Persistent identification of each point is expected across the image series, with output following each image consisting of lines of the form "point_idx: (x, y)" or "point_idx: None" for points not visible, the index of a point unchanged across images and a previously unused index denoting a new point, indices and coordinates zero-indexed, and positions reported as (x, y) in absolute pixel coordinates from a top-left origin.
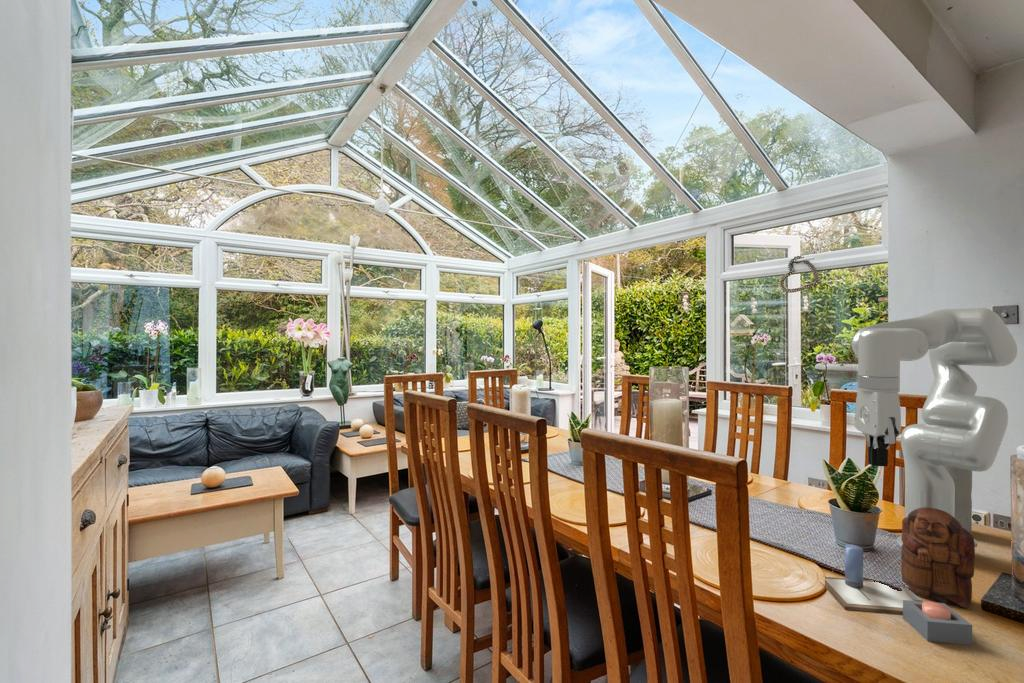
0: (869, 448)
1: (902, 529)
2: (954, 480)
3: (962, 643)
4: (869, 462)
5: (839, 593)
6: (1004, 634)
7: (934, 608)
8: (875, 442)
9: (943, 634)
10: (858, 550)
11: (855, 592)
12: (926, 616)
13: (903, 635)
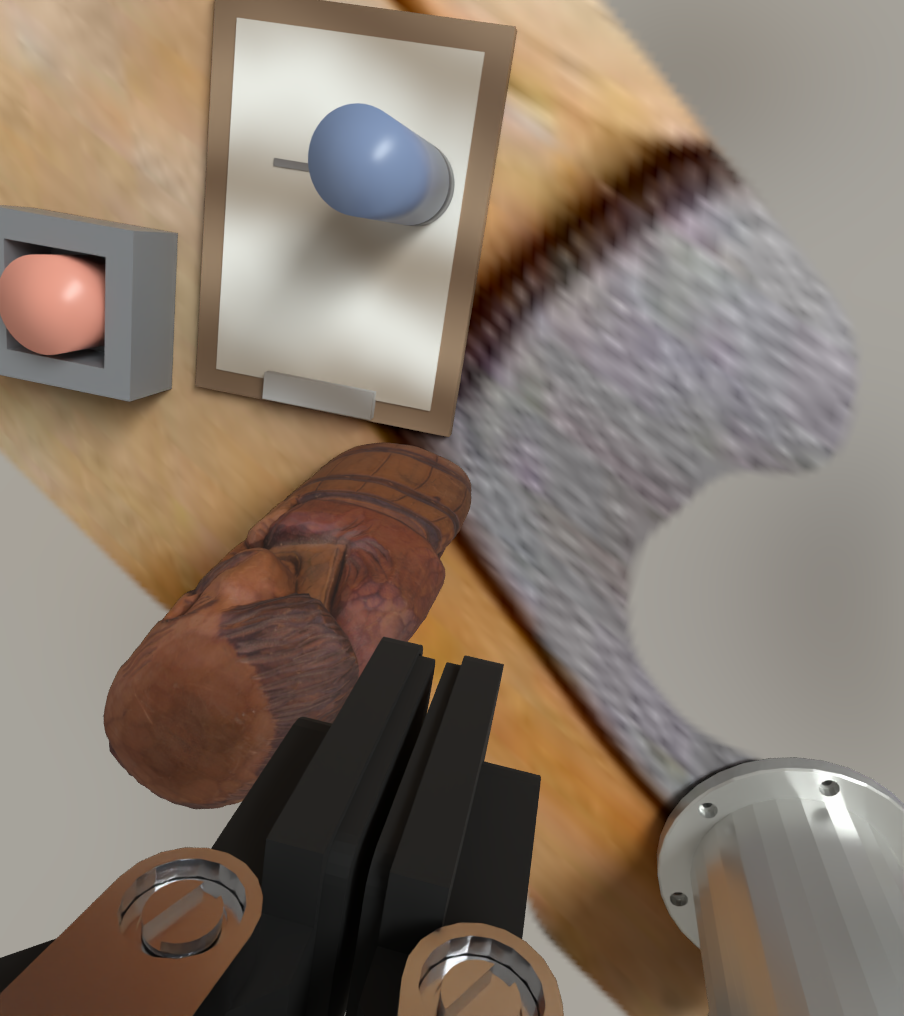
0: (397, 845)
1: (397, 559)
2: None
3: None
4: (463, 666)
5: (327, 36)
6: (116, 532)
7: (31, 290)
8: (64, 992)
9: None
10: (315, 161)
11: None
12: (14, 231)
13: (55, 134)
